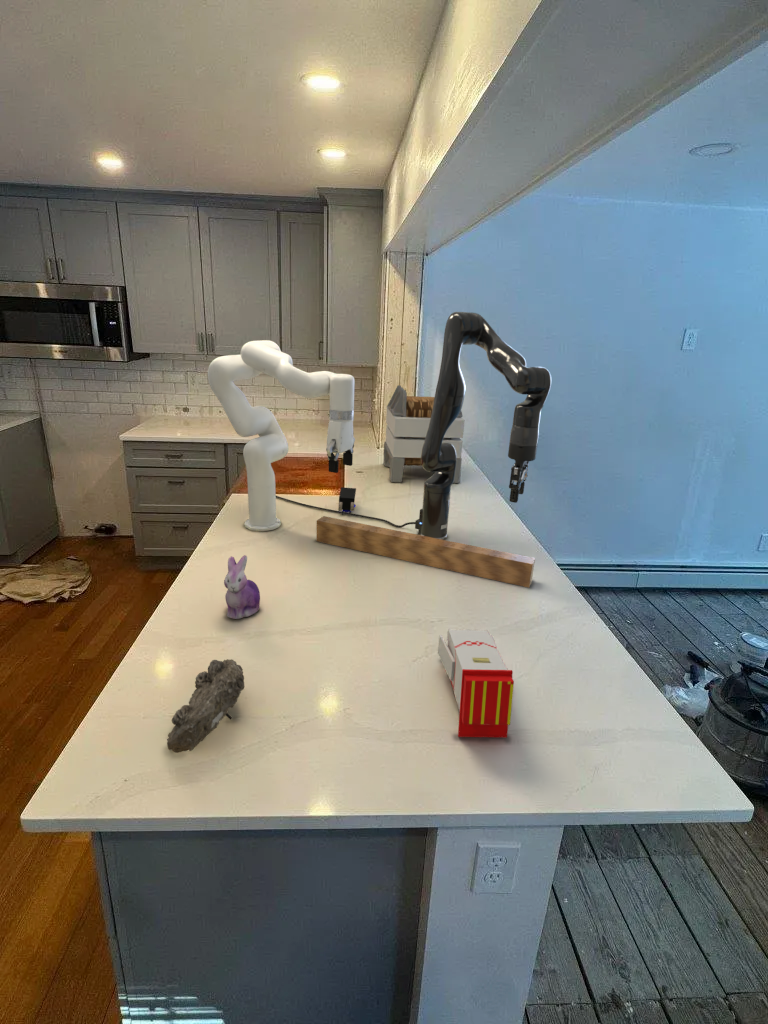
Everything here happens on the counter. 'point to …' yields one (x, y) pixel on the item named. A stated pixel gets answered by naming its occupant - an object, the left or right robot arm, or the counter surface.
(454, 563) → the post
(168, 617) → the counter surface
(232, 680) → the fossil
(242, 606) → the figurine
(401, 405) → the grey storage crate
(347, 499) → the figurine character
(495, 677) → the toy
